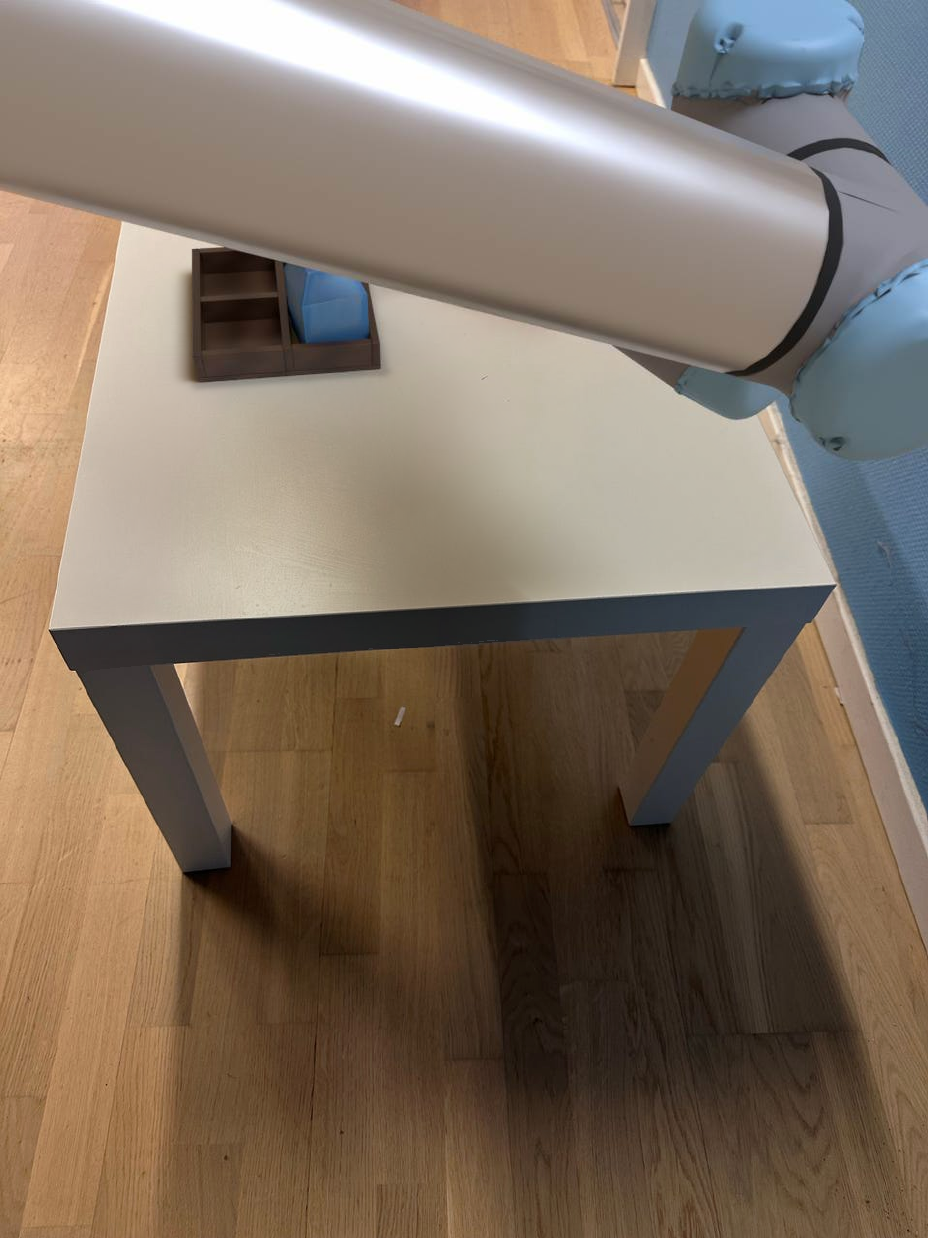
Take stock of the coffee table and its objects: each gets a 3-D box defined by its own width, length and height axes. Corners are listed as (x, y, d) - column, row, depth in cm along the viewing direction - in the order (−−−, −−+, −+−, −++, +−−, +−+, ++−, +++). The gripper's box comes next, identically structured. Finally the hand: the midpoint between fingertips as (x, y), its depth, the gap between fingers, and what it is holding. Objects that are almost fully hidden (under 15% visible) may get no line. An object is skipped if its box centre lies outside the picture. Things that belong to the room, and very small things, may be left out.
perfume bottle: (369, 349, 88) (364, 235, 78) (308, 362, 86) (295, 248, 76) (350, 312, 91) (342, 199, 81) (290, 324, 89) (276, 210, 80)
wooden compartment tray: (198, 382, 85) (192, 356, 82) (197, 274, 95) (191, 248, 92) (380, 368, 87) (380, 343, 85) (361, 264, 97) (360, 239, 95)
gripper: (421, 382, 53) (226, 227, 62) (697, 227, 62) (492, 113, 71) (416, 268, 47) (200, 115, 56) (723, 115, 56) (496, 6, 65)
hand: (364, 113), depth 64 cm, fingers open, 13 cm apart
